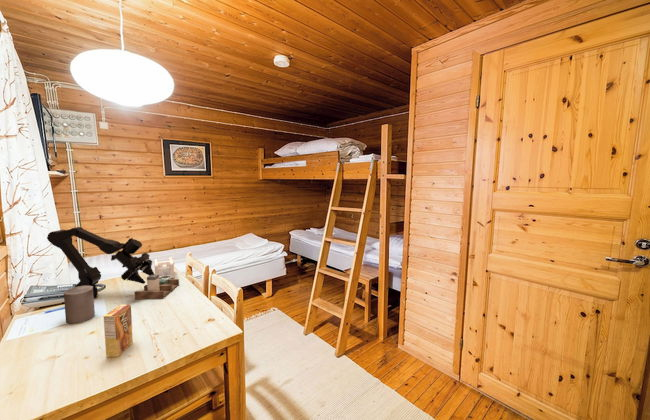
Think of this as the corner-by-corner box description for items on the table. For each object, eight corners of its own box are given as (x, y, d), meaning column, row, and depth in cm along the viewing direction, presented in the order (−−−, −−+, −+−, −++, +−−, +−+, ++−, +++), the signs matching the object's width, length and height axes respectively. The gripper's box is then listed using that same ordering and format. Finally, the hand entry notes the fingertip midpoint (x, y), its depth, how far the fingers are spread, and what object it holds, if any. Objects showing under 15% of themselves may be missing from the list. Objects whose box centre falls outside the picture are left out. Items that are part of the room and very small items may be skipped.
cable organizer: (155, 275, 176) (154, 258, 175) (173, 272, 182) (172, 256, 181) (155, 282, 163) (154, 264, 162) (175, 279, 169) (174, 261, 168)
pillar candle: (62, 320, 118) (58, 288, 116) (89, 311, 127) (86, 281, 125) (71, 326, 114) (68, 293, 112) (99, 316, 122) (97, 285, 120)
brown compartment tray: (134, 299, 140) (134, 290, 139) (154, 286, 158) (154, 277, 158) (162, 299, 141) (162, 289, 140) (179, 285, 159) (178, 277, 159)
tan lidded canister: (155, 295, 143) (154, 277, 142) (147, 295, 143) (146, 277, 142) (159, 292, 147) (159, 274, 146) (152, 292, 147) (151, 274, 146)
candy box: (122, 342, 103) (119, 304, 101) (133, 342, 103) (131, 304, 101) (105, 357, 94) (102, 316, 92) (118, 357, 94) (115, 315, 93)
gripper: (126, 254, 133) (150, 275, 135) (148, 245, 151) (169, 264, 153) (110, 269, 133) (134, 290, 135) (134, 259, 152) (155, 277, 153)
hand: (149, 279), depth 144 cm, fingers open, 9 cm apart
